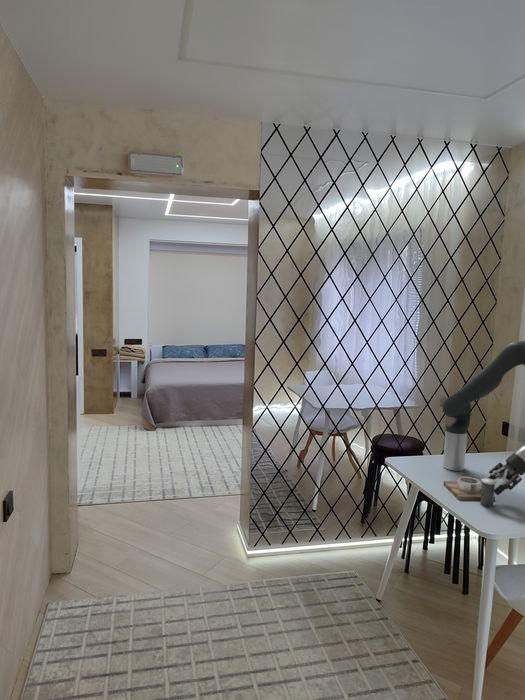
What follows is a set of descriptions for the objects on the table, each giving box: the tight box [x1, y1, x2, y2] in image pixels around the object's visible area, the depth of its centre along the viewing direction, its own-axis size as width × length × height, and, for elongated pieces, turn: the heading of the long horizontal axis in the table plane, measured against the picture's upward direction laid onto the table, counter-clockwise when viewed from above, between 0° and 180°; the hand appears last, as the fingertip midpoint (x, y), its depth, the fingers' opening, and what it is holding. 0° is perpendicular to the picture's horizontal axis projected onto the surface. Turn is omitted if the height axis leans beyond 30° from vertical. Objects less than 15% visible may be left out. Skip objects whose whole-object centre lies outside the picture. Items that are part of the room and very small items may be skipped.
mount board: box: [443, 480, 496, 502], centre depth 201 cm, size 16×14×2 cm
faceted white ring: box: [456, 476, 482, 493], centre depth 201 cm, size 9×9×4 cm
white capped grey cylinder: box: [480, 477, 497, 508], centre depth 189 cm, size 5×5×10 cm
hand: (490, 488), depth 189 cm, fingers open, 8 cm apart
